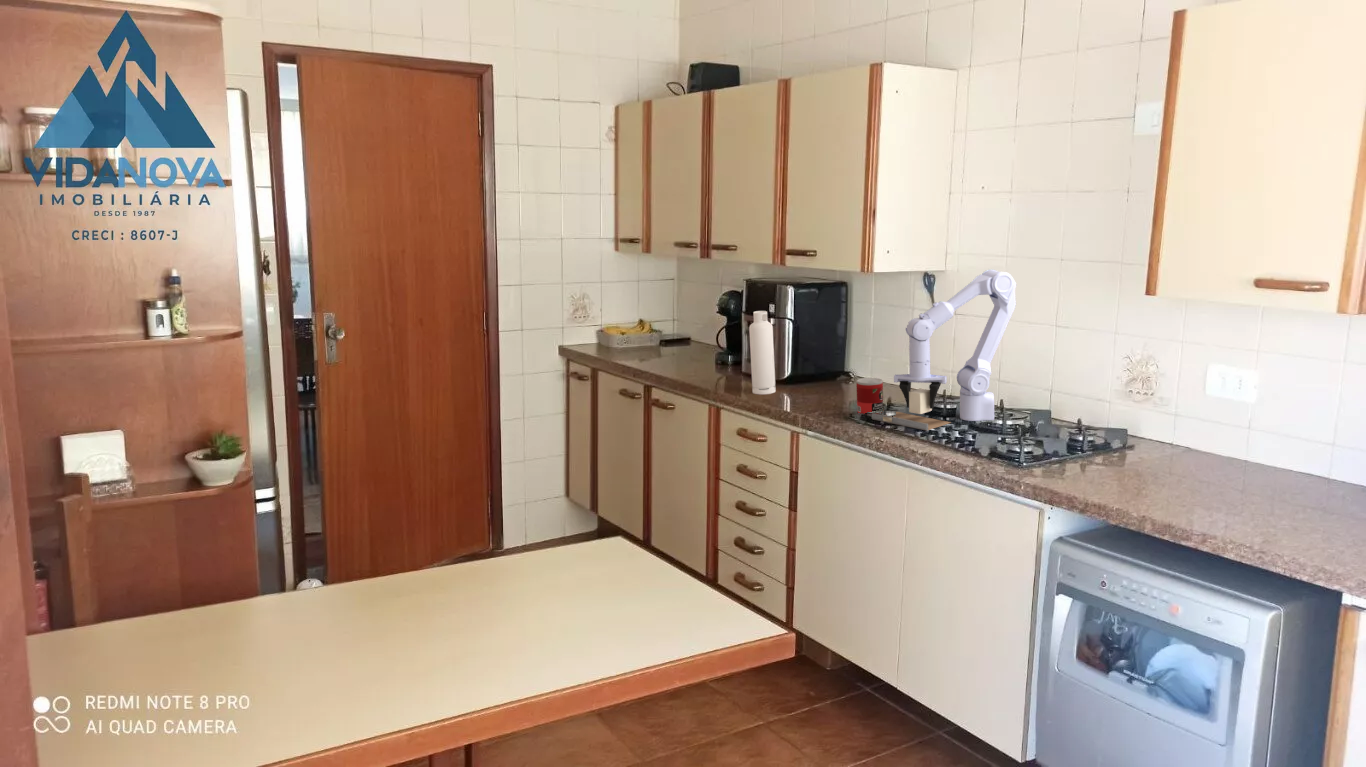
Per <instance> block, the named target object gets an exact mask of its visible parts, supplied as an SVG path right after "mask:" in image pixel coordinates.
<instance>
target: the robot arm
mask: <svg viewBox="0 0 1366 767" xmlns="http://www.w3.org/2000/svg"><path fill="white" fill-rule="evenodd" d="M1016 287H1017V283H1016V281H1015V279H1014V277H1013V276H1012V275H1011V274H1010V273H1009V272H1006V271H999V270H996V269H992V268H991V269H989V268H988V269H987V270H985V271H983V272H982V273H981V274H979V275H977V276H975V277H974V279H973V280H971V281H970V283H968V284H967V285H965V286H964V287H963V288H961V290H959V291H958V292H957V293H956V294H954V295H952V297H950V298H949V299H948V300H947V301H942V300H940V301H938V302H937V301H935V302H933V303H932V306H931V307H930V308H929V309H927V310H926V311H925V312H923V313H920V314H918V317H914V318H912V319H910V320H909V321H908V324H907V325H906V327H905V333H906V334H907V335H908V337H909V338H908V340H909V342H908V356H909V358H908V359H909V373H905V374H893V383H899V385H898V387H899V389H900V390H901V392H902V395H903V397H904V400H905V402H906V408H908V409H909V392H910V391H912V390H911V389H912V388H911V387H912V383H917V384H919V383H921V384H922V383H923V384H924V383H927V384H928V385H929V386H928V388H929V389H928V390H930V408H932V409H934V407H935V400H936V397H937V394H938V391H939V389H940V387H941V385H946V384H947V383H948V381H947V380H948V379H947V377H948V376H947V375H939V374H931V345H930V344H931V343H930V342H931V341H930V340H931V337H932V336H933V334H934V331H936V330H937V329H938V328H940V327H942V326H943V325H944V324H946V323H947V322H948V321H950V320H951V319H953V318H954V314H955V311H956V310H958V309H959V308H961V307H962V306H964V305H965V304H967V303H969V302H970V301H972V300H973V299H974V298H976V297H977V296H985V295H986V296H989V298H990V299H991V302H992V303H993V308H992V311H991V312H990V315H989V317H988V319H987V322H986V324H985V326H984V329H983V331H982V334H981V336H980V338H979V341H978V342H977V345H976V347H975V349H974V352H973V354H972V356H971V357H970V358H969V359H968V360H966V361H965V363H964V365H963V367H962V368H960V370H958V372H957V375H956V382H957V383H958V386H960V390H959V418H960V419H961V420H962V421H963V420H964V421H969V422H972V421H973V422H978V421H979V422H980V421H994V420H995V394H994V393H993V392H992V391H987V390H988V389H989V387H990V377H991V375H992V368H991V367H992V366H991V364H992V361H993V359H994V356H995V354H996V351H997V350H998V347H999V346H1000V343H1001V341H1002V339H1003V336H1004V334H1005V331H1006V329H1007V326H1008V324H1009V322H1010V320H1011V318H1012V316H1013V313H1014V311H1015V309H1016V306H1017V305H1016V304H1017V302H1016V299H1017V298H1016Z"/></svg>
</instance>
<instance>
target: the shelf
mask: <svg viewBox="0 0 1366 767" xmlns="http://www.w3.org/2000/svg"><path fill="white" fill-rule="evenodd" d="M895 412H896V415H895V416H893V417H892V416H887V414H882V413H872V414H871V419H872V420H874V421H880V422H884V423H888V424H894V425H899V426H902V427H908V428H912V429H917V430H921V431H922V430H923V431H926V432H928V431H930V430H933V429H936V428H939V427H942V426H945V425H946V426H947V425H949V424H952V422H951V421H946V420H942V419H941V420H940V419H936V418H932V417H931V418H930V417H926V416H921V415H914V414H911V413H905V412H900V411H895Z"/></svg>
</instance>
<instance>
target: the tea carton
mask: <svg viewBox="0 0 1366 767" xmlns="http://www.w3.org/2000/svg"><path fill="white" fill-rule="evenodd" d="M908 409H909V410H908V411H909V412H908V413H910V414H911V413H912V414H913V413H914V414H917V415H923V414H925V413H929V412H931V411H932V410H933V408H930V389H926V388H917V389H914V390H911V391H910V392H909V408H908Z"/></svg>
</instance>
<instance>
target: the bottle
mask: <svg viewBox="0 0 1366 767" xmlns="http://www.w3.org/2000/svg"><path fill="white" fill-rule="evenodd" d="M752 313H753V322H752V323H751V324H749V330H748V331H749V346H750V347H749V348H750V351H749V352H750V368H751V369H750V370H751V389H752V394H755V395H771V394H774V393H776V370H775V350H774V326H773V324H772V323H771V322H770V321H768V310H767V311H766V310H756V311H753V312H752Z"/></svg>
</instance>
